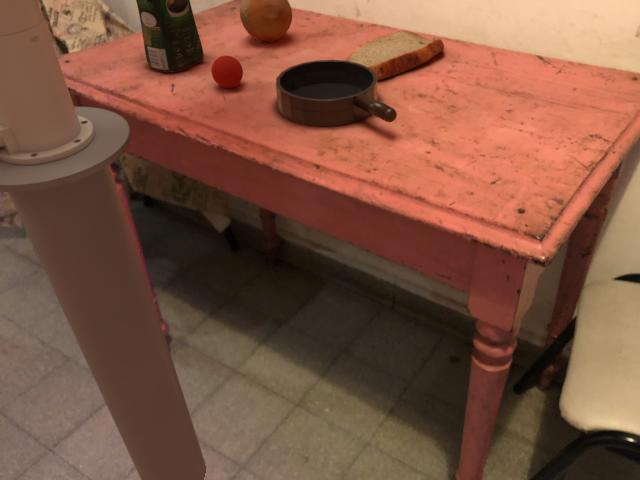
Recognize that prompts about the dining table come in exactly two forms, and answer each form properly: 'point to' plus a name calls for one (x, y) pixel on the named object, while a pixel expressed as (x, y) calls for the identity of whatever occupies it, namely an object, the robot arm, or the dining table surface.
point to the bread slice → (396, 53)
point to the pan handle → (375, 108)
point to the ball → (227, 71)
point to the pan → (324, 92)
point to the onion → (266, 18)
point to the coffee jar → (169, 34)
